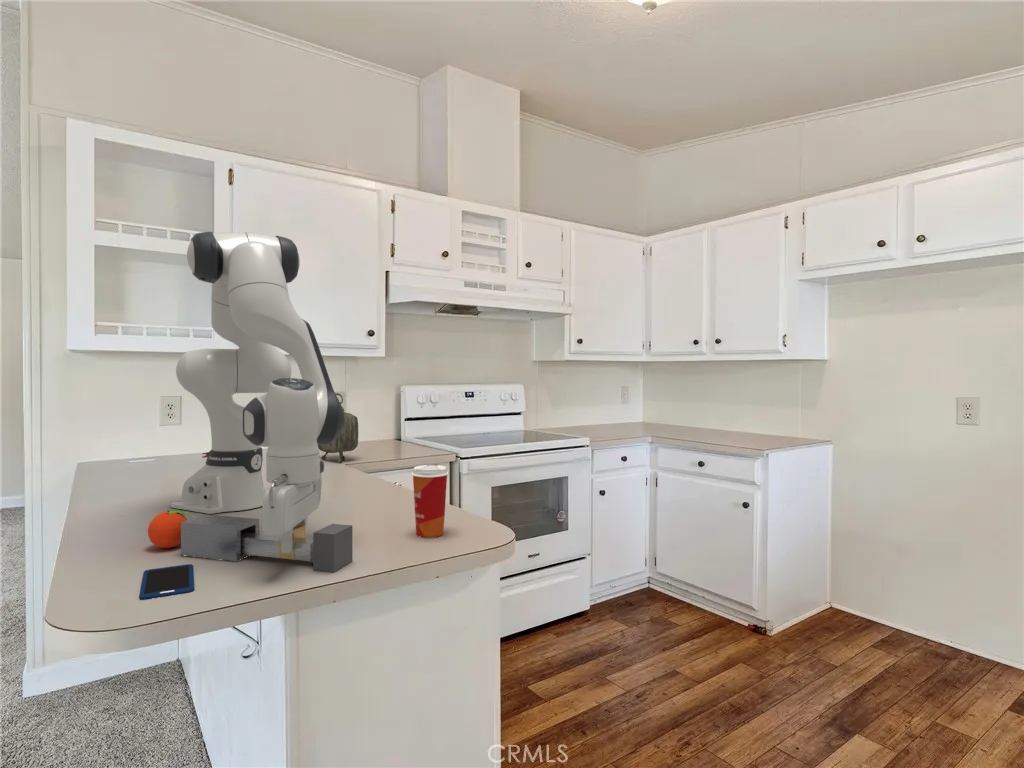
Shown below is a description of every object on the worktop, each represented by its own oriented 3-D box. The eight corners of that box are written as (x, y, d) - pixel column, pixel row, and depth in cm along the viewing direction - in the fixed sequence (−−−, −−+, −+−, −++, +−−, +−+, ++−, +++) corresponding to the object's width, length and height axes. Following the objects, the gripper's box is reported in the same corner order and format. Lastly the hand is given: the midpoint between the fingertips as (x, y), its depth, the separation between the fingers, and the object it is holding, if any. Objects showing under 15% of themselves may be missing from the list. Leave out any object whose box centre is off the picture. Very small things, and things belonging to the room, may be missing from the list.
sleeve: (181, 555, 108) (180, 522, 108) (205, 546, 114) (205, 514, 114) (236, 561, 105) (236, 527, 105) (259, 551, 111) (259, 519, 111)
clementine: (196, 539, 119) (195, 504, 118) (195, 549, 112) (195, 512, 112) (149, 544, 115) (149, 508, 115) (146, 555, 109) (145, 516, 109)
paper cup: (415, 528, 128) (415, 464, 127) (450, 529, 127) (450, 464, 127) (407, 539, 120) (407, 470, 119) (445, 539, 120) (445, 471, 119)
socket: (313, 570, 101) (313, 532, 101) (332, 559, 107) (332, 523, 107) (334, 572, 100) (334, 534, 100) (352, 561, 106) (352, 525, 106)
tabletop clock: (316, 460, 220) (316, 392, 219) (338, 457, 227) (338, 392, 226) (338, 464, 211) (338, 394, 210) (360, 461, 217) (360, 393, 217)
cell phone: (138, 603, 88) (138, 598, 88) (143, 574, 100) (143, 569, 100) (194, 594, 91) (194, 589, 91) (193, 567, 103) (193, 563, 103)
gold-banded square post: (221, 552, 107) (221, 523, 107) (235, 547, 111) (235, 519, 111) (313, 562, 103) (313, 531, 102) (324, 556, 106) (324, 526, 106)
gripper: (290, 481, 95) (290, 566, 95) (327, 460, 115) (327, 531, 116) (250, 481, 95) (251, 566, 95) (294, 460, 115) (294, 531, 116)
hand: (293, 547), depth 106 cm, fingers closed on gold-banded square post, 4 cm apart
